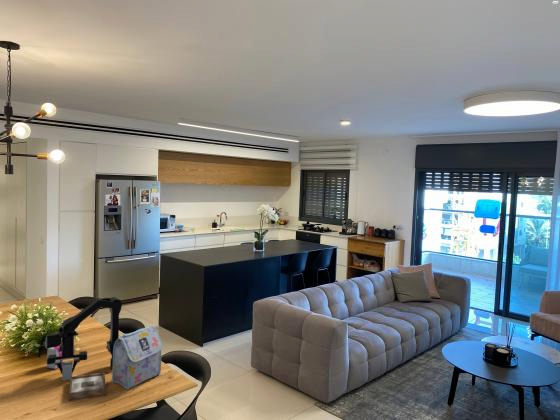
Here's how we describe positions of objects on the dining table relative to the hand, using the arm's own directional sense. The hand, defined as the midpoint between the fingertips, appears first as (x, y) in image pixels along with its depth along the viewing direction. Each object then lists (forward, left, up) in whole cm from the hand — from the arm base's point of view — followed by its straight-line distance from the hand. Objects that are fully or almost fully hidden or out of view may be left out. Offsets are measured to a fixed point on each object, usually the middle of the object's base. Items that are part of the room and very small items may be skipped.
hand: (67, 373), depth 217 cm
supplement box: (+7, -16, -3) cm, 18 cm away
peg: (0, 0, -3) cm, 3 cm away
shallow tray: (-10, +16, -2) cm, 19 cm away
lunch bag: (-34, +13, -3) cm, 37 cm away
